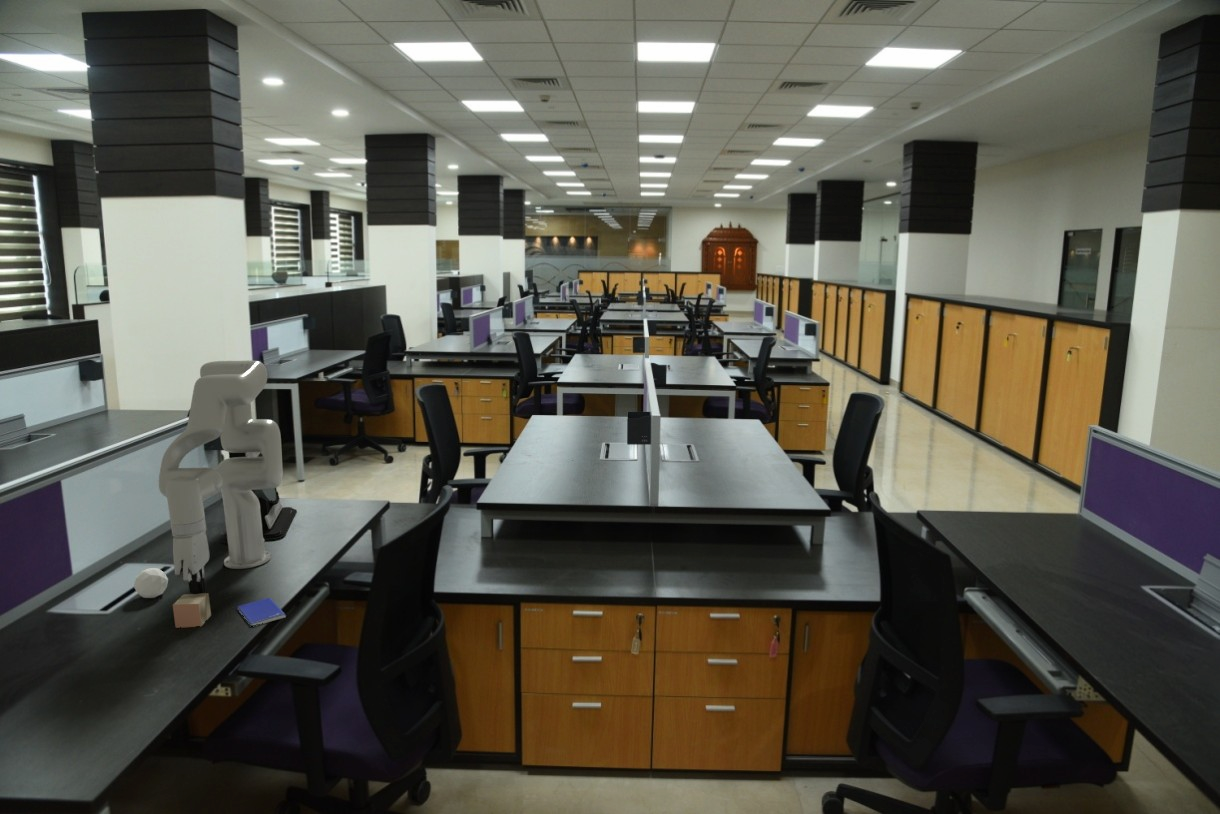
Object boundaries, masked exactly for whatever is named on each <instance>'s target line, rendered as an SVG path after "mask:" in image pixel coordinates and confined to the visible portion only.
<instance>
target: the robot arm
mask: <svg viewBox="0 0 1220 814" xmlns="http://www.w3.org/2000/svg"><path fill="white" fill-rule="evenodd" d="M199 374H200V376H199V378H198V379H197V380H196V381H195V383H194V386H193V391H192V397H191V403H190V408H189V414H188V415H189V416H188V421H187V426H186V428H185V430H183V432H181V433H180V434H179V435H178V436H177V437H176V438H174V440H173V441H172V442H171V444H169V446H168V447H167V448H166V450H165V452H164V454H163V456H162V458H161V464H160V467H159V468H160V470H159V474H158V475H159V476H158V489H159V492H160V493H161V494H162V496H164V497H165V498H166V499H167V507H168V514H169V521H170V528H171V535H172V537H173V539H172V556H173V568H174V574H175V576H180V575H181V574H182V576H183V577H182V579H183V582H187V583H188V589H189V594H202V593H206V592H207V591H206V589H207V588H206V583H205V566H206V564H207V563H208V562H209V560H210V548H209V542H208V537H207V533H206V531H207V523H206V517H205V516H206V515H205V514H206V513H205V509H204V500H207V499H209V498H212V497H213V496H216V495H217V494H218V493H219V492H220V493H221V496H222V497H221V498H222V503H223V510H224V512H223V513H224V520H225V521H224V522H225V527H226V528H225V529H226V533H227V540H228V544H227V545H228V546H227V548H228V556H227V557H226V558H224V560H223V564H224V566H225V567H226V568H228V569H236V570H242V569H250V568H254V567H257V566H261V565H264V564H266V563H267V562H268V561H269V560H271V558H272V556H271V552H269V551H268V550H265V544H264V543H265V542H266V541H265V539H264V538H263V532H262V522H261V512H260V503H259V500H258V498H257V496H256V495H255V494H254V493H253V492H252V490H259V489H273V488H276V489H277V488H278V487H279V486H280V485H281V483H282V481H283V475H284V474H283V472H284V470H283V469H284V468H283V455H282V454H283V451H282V438H281V437H282V436H281V435H282V434H281V430H280V427H279V425H278V423H277V422H275V420H272V419H267V418H264V419H263V418H261V419H260V418H259V419H254V418H253V414H252V402H253V401H254V400H256V398H257V397H258V396H259V394H260V393H261V392H262V391H263V390H264V389H265V387H266V385H267V382H268V370H267V367H266V366H265V364H264V363H263V362H261V361H259V360H217V361H215V360H214V361H209V362H207V363H204V364H203V365H201V367H200V369H199ZM218 438H220V443H221V447H222V449H223V451H225V452H227V453H229V452H232V453H245V452H261V453H260V455H262V456H261V457H235V458H229V457H228V458H226V459H223V460H221V462H219V463H218V465H217V466H216V467H217V468H214V467H180V464H181V463H182V461H183V459H184V458H185V457H186V455H188V454H189V453H190V452H192V451H193V450H195V449H196V448H199V447H201V446H203V445H206V444H208V443H210V442H212V441H214V440H216V439H218Z"/></svg>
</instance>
